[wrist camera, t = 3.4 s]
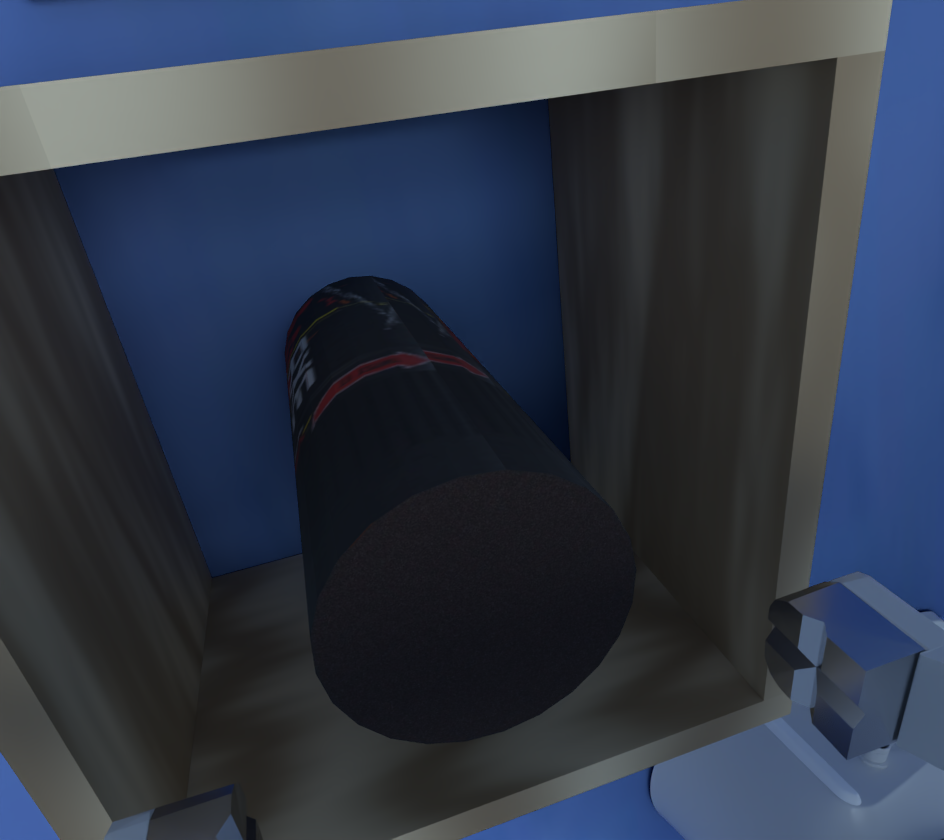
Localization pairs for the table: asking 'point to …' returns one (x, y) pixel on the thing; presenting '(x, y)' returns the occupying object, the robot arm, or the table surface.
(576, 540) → the deodorant
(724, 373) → the crate
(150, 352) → the table surface
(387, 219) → the table surface
